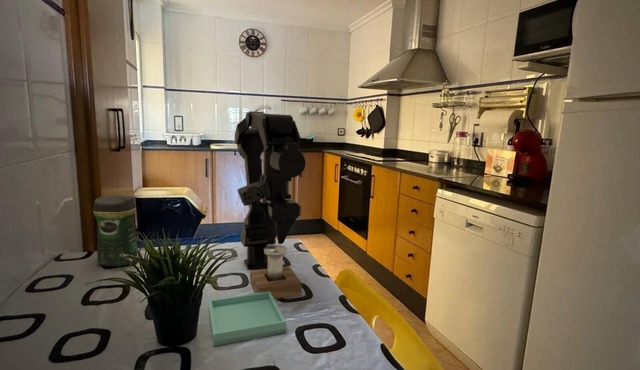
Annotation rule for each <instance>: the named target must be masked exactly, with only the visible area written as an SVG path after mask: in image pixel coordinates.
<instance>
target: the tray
mask: <svg viewBox="0 0 640 370" xmlns="http://www.w3.org/2000/svg"><path fill="white" fill-rule="evenodd" d="M207 302H208V303H207V304H208V315H209V321H210V322H209V323H210V328H211V329H210V330H211V335H212V336H211V337H212V343H213V344H212V345H213V347H215V346H220V345H226V344H227V345H228V344H231V343H238V342H243V341H247V340H254V339H258V338H259V339H260V338H264V337H269V336H274V335H281V334H285V333H286V332H287V321H286V319H285V317H284V315H283V313H282V312H281V310H280V308H279V306H278V304H277V301H276V299H274V298H273V296H272V294H271V292H270V291H269V292H262V293H250V294H249V293H248V294H242V295H235V296H234V295H233V296H228V297H219V298H214V299H213V298H212V299H208V301H207Z"/></svg>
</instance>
